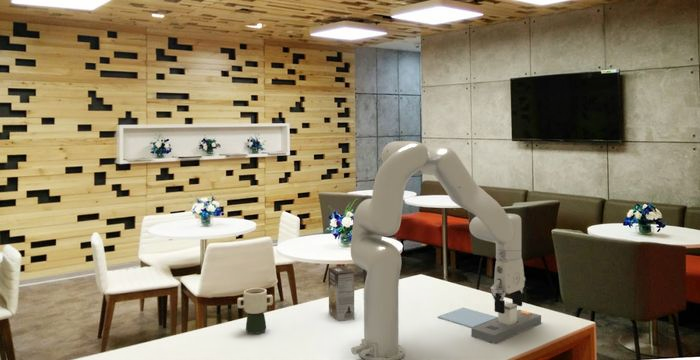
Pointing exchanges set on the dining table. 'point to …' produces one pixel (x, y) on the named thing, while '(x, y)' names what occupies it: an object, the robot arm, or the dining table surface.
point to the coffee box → (341, 293)
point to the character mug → (255, 308)
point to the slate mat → (467, 317)
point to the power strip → (505, 327)
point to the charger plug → (508, 314)
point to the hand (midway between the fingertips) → (508, 308)
